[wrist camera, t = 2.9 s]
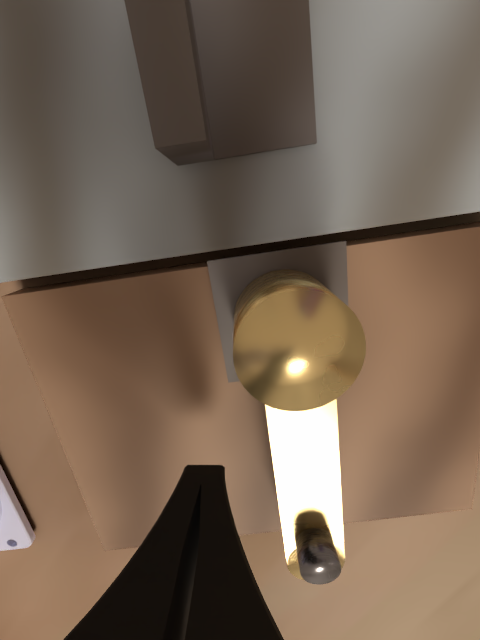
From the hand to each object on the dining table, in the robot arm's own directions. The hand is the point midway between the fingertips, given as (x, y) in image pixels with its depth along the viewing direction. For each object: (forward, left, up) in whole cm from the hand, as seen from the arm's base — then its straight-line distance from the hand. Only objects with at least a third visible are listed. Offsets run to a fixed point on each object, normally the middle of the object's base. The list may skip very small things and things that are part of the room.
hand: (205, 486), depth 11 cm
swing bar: (+4, +1, -2) cm, 4 cm away
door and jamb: (+3, +7, -4) cm, 8 cm away
